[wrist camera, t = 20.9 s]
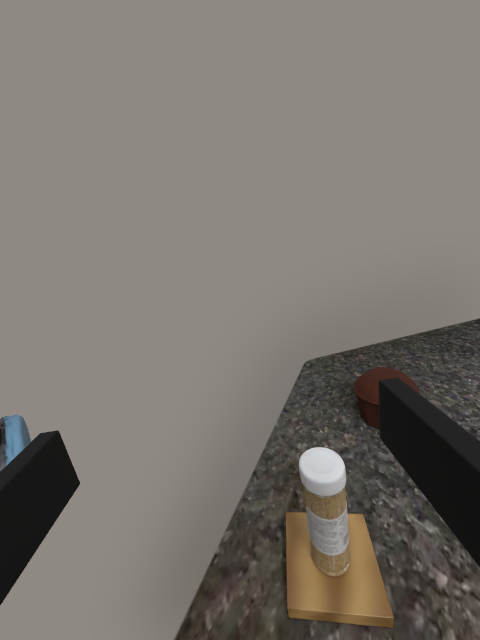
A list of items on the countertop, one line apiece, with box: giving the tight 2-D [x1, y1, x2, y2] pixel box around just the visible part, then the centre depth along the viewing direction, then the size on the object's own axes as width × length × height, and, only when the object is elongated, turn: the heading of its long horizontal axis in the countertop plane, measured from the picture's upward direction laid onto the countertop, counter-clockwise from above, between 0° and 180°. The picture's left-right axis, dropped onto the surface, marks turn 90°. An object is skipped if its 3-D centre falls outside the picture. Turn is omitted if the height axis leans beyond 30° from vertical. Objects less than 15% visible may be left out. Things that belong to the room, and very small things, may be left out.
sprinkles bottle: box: [299, 447, 351, 577], centre depth 29 cm, size 5×5×14 cm
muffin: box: [353, 367, 420, 430], centre depth 51 cm, size 12×11×10 cm
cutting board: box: [286, 512, 394, 628], centre depth 31 cm, size 10×10×2 cm
